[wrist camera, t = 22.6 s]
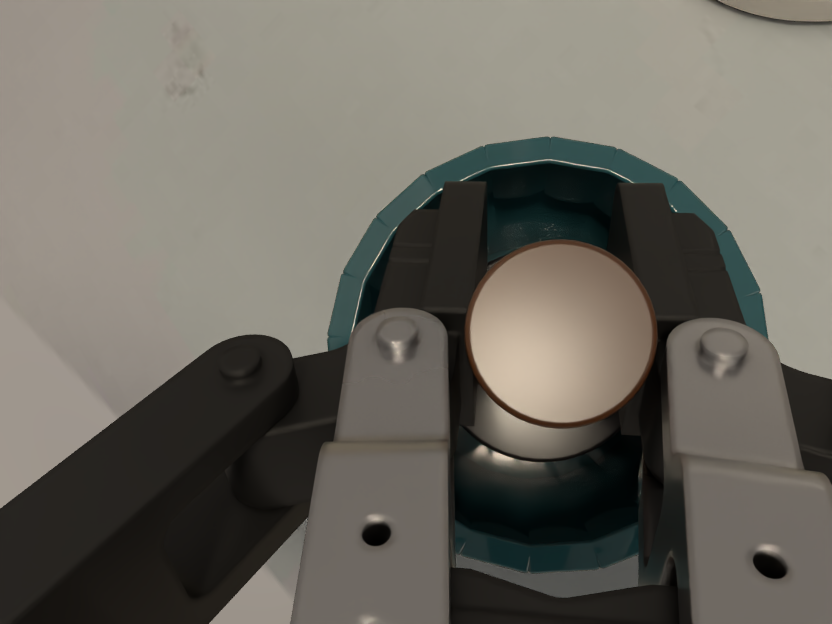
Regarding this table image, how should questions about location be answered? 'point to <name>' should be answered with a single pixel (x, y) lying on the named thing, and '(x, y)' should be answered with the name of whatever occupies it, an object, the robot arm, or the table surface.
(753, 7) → the jar
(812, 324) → the table surface
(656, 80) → the table surface
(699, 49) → the table surface
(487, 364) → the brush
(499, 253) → the crock
